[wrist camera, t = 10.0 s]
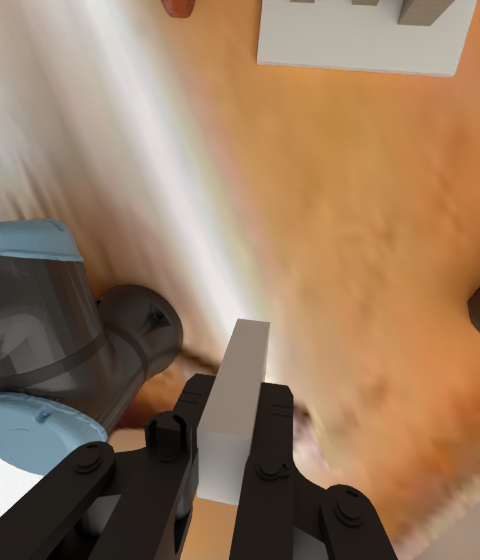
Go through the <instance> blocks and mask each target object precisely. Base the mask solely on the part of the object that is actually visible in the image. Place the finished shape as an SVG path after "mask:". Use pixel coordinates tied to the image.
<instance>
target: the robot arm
mask: <svg viewBox="0 0 480 560" xmlns="http://www.w3.org/2000/svg"><path fill="white" fill-rule="evenodd" d="M83 261H84V258H83V256H81V255H80V253H79V251H78V248H77V246H76V243H75V241H74V239H73V236H72V234H71V231H70V229H69V228H68V227H67V226H66V225H65V224H64V223H62V222H61V221H59V220H56V219H51V218H44V219H31V220H19V221H6V222H0V458H1V459H2V460H4V461H5V462H7V463H9V464H11V465H13V466H15V467H17V468H19V469H22V470H24V471H27V472H30V473H34V474H38V475H44V477H43V478H42V479H41V480H40V481H39V482H38V483H37V484H36V485H35V486H34V487H33V488H31V489H30V490H29V491H28V492H27V493H26V494H25V495H24V496H23V497H22V498H21V499H20V500H18V501H17V502H16V503H15V504H14V505H13V506H12V507H11V508H10V509H9V510H8V511H7V512H5V513H4V514H3V515H2V516H1V517H0V560H180V557H181V553H182V550H183V546H184V543H185V539H186V536H187V533H188V529H189V526H190V522H191V519H192V511H193V500H194V497H195V493H196V490H197V497H198V498H203V499H208V500H213V501H218V502H223V503H227V504H233V505H238V510H237V515H236V521H235V528H234V533H233V538H232V545H231V550H230V556H229V560H398V558H397V556H396V554H395V552H394V550H393V547H392V545H391V543H390V541H389V538H388V536H387V534H386V532H385V530H384V527H383V525H382V523H381V521H380V518H379V516H378V514H377V512H376V510H375V508H374V506H373V505H372V503H371V502H370V500H369V499H368V498H367V497H366V496H365V495H364V494H363V493H361V492H360V491H359V490H357V489H355V488H353V487H351V486H348V485H341V484H338V485H334V486H330V487H329V488H328V489H327V490H326V489H324V488H322V487H320V486H318V485H316V484H314V483H312V482H311V481H309V480H308V479H306V478H305V477H304V476H303V475H302V474H301V473H300V472H299V470H298V469H297V467H296V466H295V463H294V461H293V394H292V393H291V391H290V389H289V387H288V386H286V385H279V384H272V383H265V382H264V380H265V373H266V363H267V351H268V340H269V329H270V322H261V321H253V320H245V319H238V320H237V322H236V325H235V328H234V330H233V333H232V336H231V339H230V341H229V344H228V347H227V349H226V352H225V355H224V357H223V360H222V363H221V366H220V368H219V371H218V374H217V376H211V375H204V374H197V373H196V374H195V375H194V376H193V377H191V378H190V379H189V380H188V381H187V382H186V384H185V386H184V388H183V390H182V393H181V394H180V396H179V398H178V402H177V403H176V405H175V407H174V409H173V411H165V412H161V413H158V414H156V415H154V416H153V417H151V418H150V419H149V420H148V421H147V422H146V423H145V425H144V428H145V439H146V447H144V448H142V449H138V450H133V451H126V452H117V453H114V450H113V447H112V446H111V445H109V444H108V443H107V442H105V441H106V439H107V437H108V436H109V434H110V433H111V431H112V430H113V429H114V427H115V426H116V424H117V423H118V421H119V420H120V418H121V417H122V415H123V414H124V412H125V411H126V409H127V408H128V406H129V405H130V403H131V402H132V400H133V399H134V397H135V396H136V394H137V393H138V391H139V390H140V388H141V387H142V385H143V384H144V383H145V382H146V381H148V380H149V379H151V378H152V377H153V376H155V375H156V374H159V373H160V372H162V371H164V370H165V369H166V368H168V367H169V366H170V365H171V364H172V362H173V361H174V359H175V358H176V356H177V355H178V353H179V351H180V349H181V346H182V342H183V330H182V325H181V322H180V319H179V317H178V315H177V313H176V312H175V310H174V309H173V308H172V306H171V305H170V304H169V303H168V302H167V301H166V300H165V299H164V298H163V297H161V296H160V295H158V294H157V293H155V292H153V291H152V290H149V289H147V288H144V287H141V286H135V285H123V286H118V287H115V288H113V289H111V290H109V291H108V292H106V293H105V294H103V295H102V296H100V297H99V298H98V299H97V300H95V297H94V294H93V291H92V288H91V285H90V282H89V279H88V276H87V273H86V270H85V267H84V264H83Z"/></svg>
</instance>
